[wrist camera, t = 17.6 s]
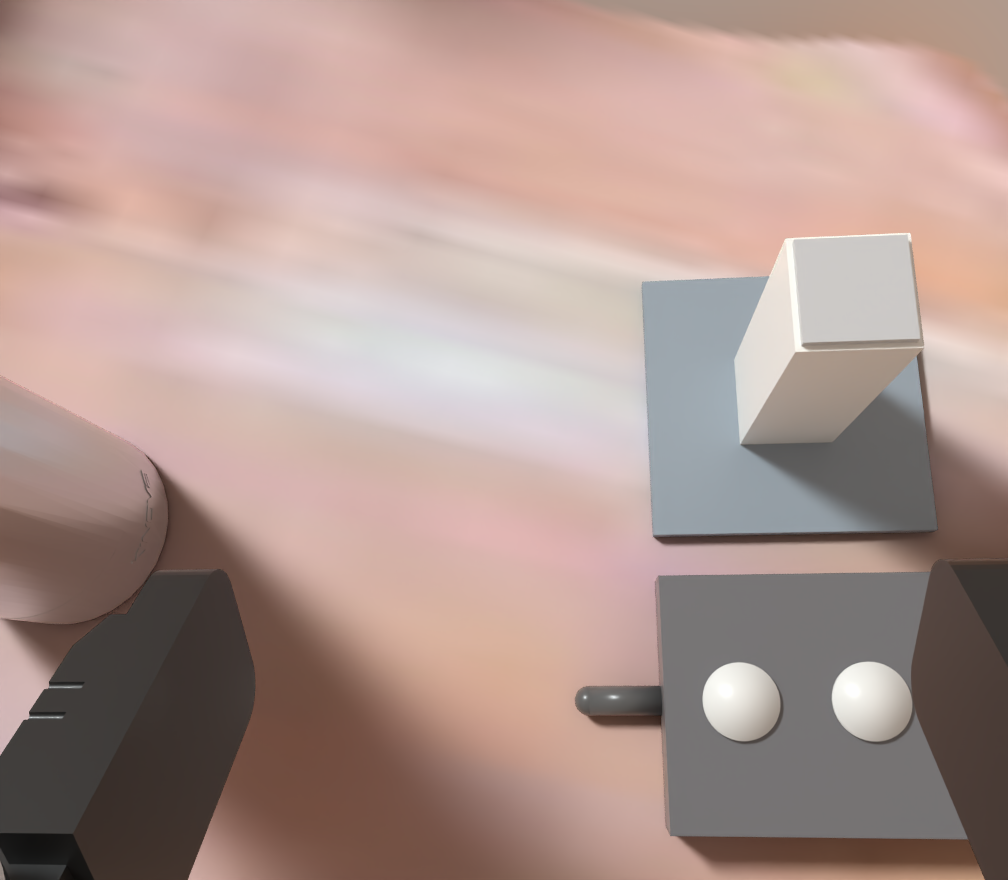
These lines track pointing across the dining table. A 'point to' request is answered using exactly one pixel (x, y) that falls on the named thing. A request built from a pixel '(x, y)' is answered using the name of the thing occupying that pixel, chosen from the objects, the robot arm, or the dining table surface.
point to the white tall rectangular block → (826, 336)
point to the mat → (766, 467)
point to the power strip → (789, 708)
